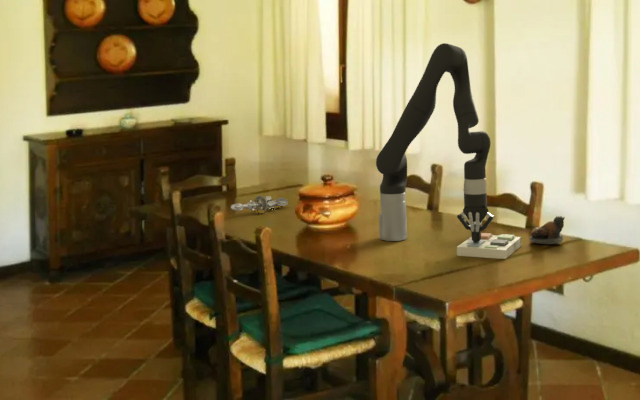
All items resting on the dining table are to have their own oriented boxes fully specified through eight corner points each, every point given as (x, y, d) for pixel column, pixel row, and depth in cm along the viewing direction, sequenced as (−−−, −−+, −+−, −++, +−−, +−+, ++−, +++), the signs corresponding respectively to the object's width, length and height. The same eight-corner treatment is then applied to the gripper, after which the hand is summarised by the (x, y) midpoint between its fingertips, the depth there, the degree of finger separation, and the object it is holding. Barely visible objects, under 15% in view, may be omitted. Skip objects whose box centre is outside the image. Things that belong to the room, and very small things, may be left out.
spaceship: (222, 201, 376) (234, 195, 371) (279, 196, 403) (291, 190, 398) (226, 219, 375) (239, 213, 370) (283, 213, 402) (296, 208, 397)
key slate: (467, 250, 302) (467, 243, 302) (471, 247, 306) (471, 240, 306) (480, 251, 300) (480, 244, 300) (484, 248, 304) (484, 241, 304)
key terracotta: (474, 242, 309) (474, 235, 309) (478, 239, 313) (478, 232, 313) (487, 243, 307) (487, 236, 306) (491, 240, 311) (491, 233, 310)
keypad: (456, 255, 299) (456, 245, 298) (475, 242, 316) (475, 232, 315) (505, 259, 291) (505, 248, 290) (521, 245, 308) (521, 235, 308)
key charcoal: (490, 249, 298) (490, 242, 298) (494, 246, 302) (494, 239, 302) (504, 250, 296) (503, 243, 296) (507, 247, 300) (507, 240, 300)
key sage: (497, 244, 305) (497, 236, 305) (501, 241, 309) (501, 234, 309) (510, 245, 303) (510, 237, 303) (514, 241, 307) (514, 234, 307)
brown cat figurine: (527, 244, 309) (526, 216, 308) (534, 240, 315) (534, 212, 313) (561, 247, 303) (560, 218, 301) (568, 243, 308) (568, 214, 307)
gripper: (497, 190, 300) (498, 240, 303) (459, 189, 306) (461, 238, 309) (491, 194, 293) (492, 245, 296) (452, 192, 299) (453, 243, 302)
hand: (476, 242), depth 303 cm, fingers closed
